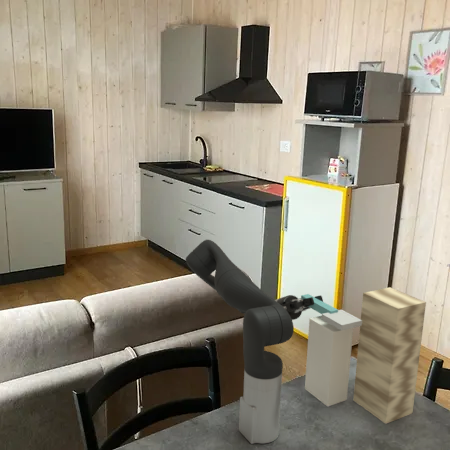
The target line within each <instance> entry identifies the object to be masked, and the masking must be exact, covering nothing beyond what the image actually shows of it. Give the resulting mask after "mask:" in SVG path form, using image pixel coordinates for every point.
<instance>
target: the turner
mask: <svg viewBox="0 0 450 450" xmlns="http://www.w3.org/2000/svg"><path fill="white" fill-rule="evenodd" d="M310 297H313V300H314V305H311V306H308V307H310V309H312V310H314V311H315V312H317V313H319V314H321V316H322V320H324V321H326V322H327V323H329V324H331V325H333V326H334V327H336V328H338V329H340V330H341V331H342V330H346V329H350V328H353V329H354V328H357V327H360V326H362V320H361V318H359V317H357V316H354V315H353V314H351V313H349V312H347V311H345V310H343V309H337V308H336V307H334V306H332V305H330V304H328V303H326V302H324V301H323V302H322V301H320V300H319V299H317V298H315V296H314V295H312V294H310V293H307V294H306V293H305V294H302V295H300V298H301V299H307V298H310Z"/></svg>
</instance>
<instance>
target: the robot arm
mask: <svg viewBox="0 0 450 450" xmlns="http://www.w3.org/2000/svg"><path fill="white" fill-rule="evenodd" d="M185 263H186V264H187V266H188V267H189V268H190V270H191V272H193V273H194V274H195V275H196V276H197V277H198V278H200V280H202V281H203V282H204V283H205V284H207V285H208V286H210V287H211V288H212V289H214V290H215V291H216V293H217V294H218V295H219V297H220V298H221V299H222V300H223V301H224V302H225V303H226V304H227V305H228V306H230V307H231V308H233V309H236V310H237V311H238V312H240V314H243V319H242V337H243V340H242V341H243V345H242V347H243V349H242V351H243V352H242V353H243V361H244V367H243V368H244V371H243V373H244V374H243V375H244V376H243V378H244V379H243V393H242V394H243V396H240V397H239V414H238V415H239V418H238V431H239V432H240V433H241V434H242V436H243V437H244V438H245V439H246V440H247V441H248V442H249V443H250V444H251V445H254V444H269V443H273V442H274V441H276V440H277V439H278V437H279V436H280V435H279V434H280V423H281V422H280V420H281V402H282V399H281V398H282V383H283V367H284V366H283V365H284V364H283V360H282V357H280V356H279V355H278V354H276V353H274V352H272V351H268V350H265V347H270V346H275V345H276V346H277V345H281V344H283V343H285V342H288V341H290V339H291V338H292V337H293V335H294V330H295V329H294V323H293V321H294V320H297V319H299V318H300V317H301V315H302V314H303V312H306V311H307V310H310V309H311V308H310V307H308V306H311V305H314V300H313V297H315V298H317V299H319V300H320V301H322V302H324V299H323V296H322V295H316V296H313V297H310V298H307V299H301V297H300V298H298V296H296V295H293V294H290V295H286V296H282V297H280V298H277V299H273V298H272V297H271V296H269V295H268V294H266V292H264V291H263V290H262V289H261V288H260V287H259V286H258V285H256V283H255V282H253V280H251V278H250V277H249V276H248V275H247V274H246V273H245V272H244V271H243V270H242V269H241V268H239V267H238V266H237V265H236V264H235V263H234V262H232V260H231V259H230V258H229V257H228V256H227V255H226V253H225V251H223V249H221V247H220V246H219V245H218V244H217V243H216V242H215V241H213V240H212V239H205V240H203V241H201V242H200V243H199V244H198V245H197V246H196V247H195V248H194V249H192V251H190V253H189V254H188V255H187V256H186V257H185ZM214 272H215V273H214ZM213 273H214V275H212V274H213Z"/></svg>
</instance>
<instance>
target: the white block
mask: <svg viewBox="0 0 450 450" xmlns="http://www.w3.org/2000/svg"><path fill="white" fill-rule="evenodd" d="M308 320H309V321H308V334H307V335H308V336H307V348H306V349H307V352H306V366H305V378H304V379H305V382H304V389H305V390H306V391H307V392H309V393H310V394H311V395H312V396H313V397H315V398H316V399H317V400H318V401H320V402H321V403H322V404H323V405H325V406H326V407H330V406H333V405H337V404H339V403H342V402H344V401H347V400H348V391H349V381H350V380H349V378H350V368H351V357H352V345H353V334H354V328H350V329H346V330H342V331H341V330H340V329H338V328H336V327H334V326H333V325H331V324H329V323H327V322H326V321H324V320H322V315H318V316H315V317H311V318H308Z"/></svg>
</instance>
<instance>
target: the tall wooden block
mask: <svg viewBox="0 0 450 450" xmlns="http://www.w3.org/2000/svg"><path fill="white" fill-rule="evenodd" d="M426 306H427V302H426V301H424V300H422V299H420V298H417V297H415V296H412V295H410V294H408V293H405V292H402V291H400V290H398V289H395V288H392V287H390V286H389V287H384V288H381V289H376V290H371V291H366V292H363V293H362V302H361V313H360V319H361V320H362V326H359V336H358V345H357V356H356V368H355V379H354V380H355V381H354V389H353V401H354V402H355V403H356V404H357V405H359V406H360V407H362V408H363V409H364V410H366V411H368V412H369V413H370V414H372V415H373V416H374V417H376V418H377V419H379V420H380V421H381V422H382V423H384V424H385V425H387V424H389V423H392V422H394V421H397V420H399V419H402V418H404V417H406V416H409V415H412V414H413V412H414V403H415V396H416V390H417V389H416V387H417V380H418V372H419V363H420V354H421V348H422V347H421V346H422V340H423V339H422V338H423V330H424V323H425V314H426Z"/></svg>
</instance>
